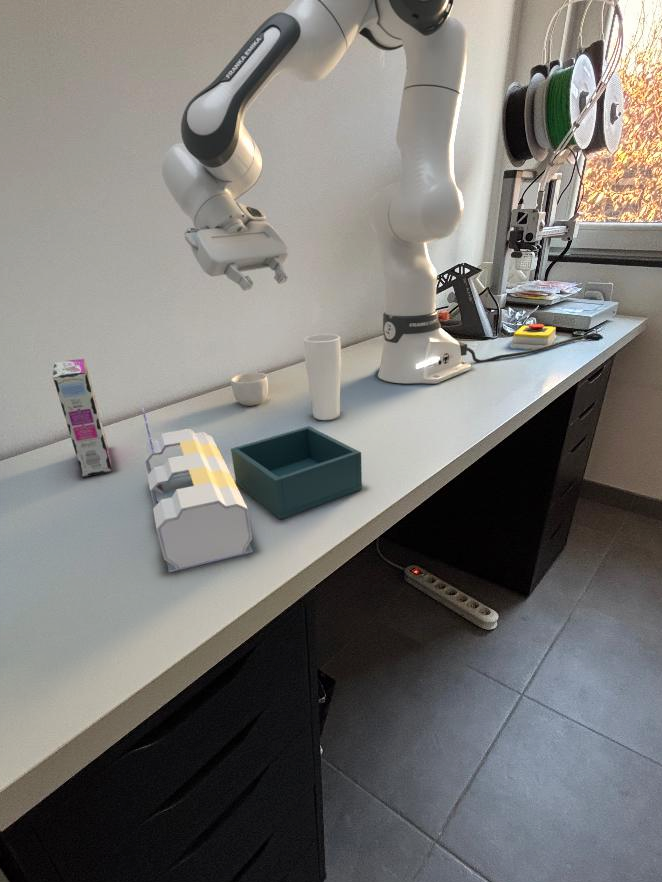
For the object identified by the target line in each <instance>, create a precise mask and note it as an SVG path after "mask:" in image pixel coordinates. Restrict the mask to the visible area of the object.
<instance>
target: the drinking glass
mask: <svg viewBox="0 0 662 882" xmlns="http://www.w3.org/2000/svg"><path fill="white" fill-rule="evenodd" d="M341 341H342V340H341V336H340V335H338V334H334V333H319V334H311V335H308V336H306V337H305V338H303V349H304V362H305V370H306V375H307V381H308V387H309V394H310V401H311V408H312V409H311V410H312V416H313V418H314V419H315V420H318V421H331V420H335V419H337V418H339V417H340V415H341V381H342V380H341V379H342V343H341Z"/></svg>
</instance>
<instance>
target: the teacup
mask: <svg viewBox="0 0 662 882" xmlns="http://www.w3.org/2000/svg"><path fill="white" fill-rule="evenodd" d="M230 384H231V389H232V393H233V397H234V398H235V400H236V401H237V402H238V403H239V404H241V405H243V406H246V407H247V406H251V407H252V406H257V405H260V404H262V403H263V402H264V401H265V400H266V399H267V397H268V393H269V379H268V375H267V374H266V373H263V372H245V373H240V374H237V375H234V376H233V377H231V378H230Z"/></svg>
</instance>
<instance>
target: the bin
mask: <svg viewBox="0 0 662 882" xmlns="http://www.w3.org/2000/svg"><path fill="white" fill-rule="evenodd" d="M230 453H231V459H232V467H233V473H234V479H235V484H236V486H237V487H239V488H240V489H242V490H243V491H244V492H246V494H248V495H249V496H250V497H251V498H253V499H254V500H255V501H257V502H258V503H259V504H260V505H261V506H262V507H264V508H265V509H266V510H267V511H269V512H270V513H271V514H273V515H274V516H275V517H276V518H277V519H279V520H281V521H282V520H283V519H286V518H288V517H289V518H290V517H292V516H294V515H297V514H300V513H302V512H305V511H307V510H308V511H309V510H310V509H313V508H316V507H318V506H321V505H324V504H326V503H329V502H331V501H334V500H337V499H340V498H342V497H345V496H347V495H350V494H353V493H355V492H359V491H361V490H362V489H363V477H362V475H363V473H362V452H361V451H360V450H357V449H356V448H354V447H351V446H350V445H347V444H345V443H343V442H341V441H339V440H338V439H335V438H334V437H331V436H329V435H328V434H325V433H324V432H322V431H319V430H318V429H316V428H314V427H312V426H309V425H308V426H305V427H300V428H298V429H294V430H291V431H287V432H284V433H281V434H276V435H273V436H270V437H266V438H263V439H260V440H255V441H253V442H249V443H246V444H241V445H239V446H235V447H232V448H230Z"/></svg>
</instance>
